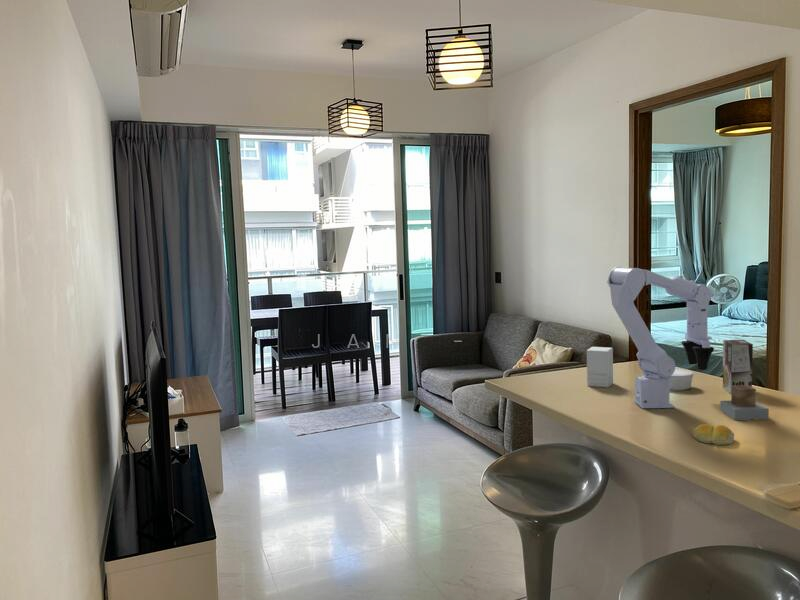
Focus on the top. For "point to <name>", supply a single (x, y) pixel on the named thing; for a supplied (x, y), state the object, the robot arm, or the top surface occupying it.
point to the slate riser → (744, 411)
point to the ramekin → (681, 379)
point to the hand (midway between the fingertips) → (697, 366)
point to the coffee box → (737, 363)
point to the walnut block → (743, 396)
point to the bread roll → (714, 434)
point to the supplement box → (599, 366)
